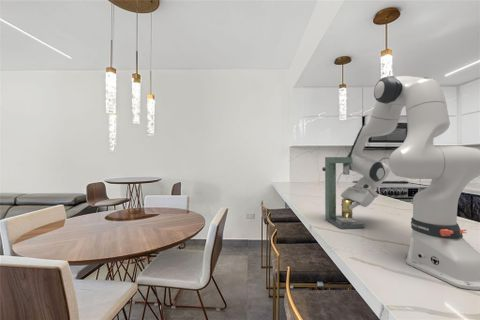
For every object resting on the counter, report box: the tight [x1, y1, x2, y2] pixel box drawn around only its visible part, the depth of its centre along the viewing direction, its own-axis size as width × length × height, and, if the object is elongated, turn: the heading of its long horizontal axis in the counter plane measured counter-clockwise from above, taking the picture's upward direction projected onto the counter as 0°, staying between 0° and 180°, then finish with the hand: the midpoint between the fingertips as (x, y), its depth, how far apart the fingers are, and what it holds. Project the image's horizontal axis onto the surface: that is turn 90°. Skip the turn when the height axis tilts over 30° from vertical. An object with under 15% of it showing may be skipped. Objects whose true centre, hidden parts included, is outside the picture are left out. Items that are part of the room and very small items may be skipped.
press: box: [321, 156, 365, 230], centre depth 121 cm, size 22×12×35 cm, turn 5°
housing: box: [341, 198, 353, 219], centre depth 118 cm, size 5×5×9 cm
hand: (345, 207), depth 117 cm, fingers closed on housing, 5 cm apart
